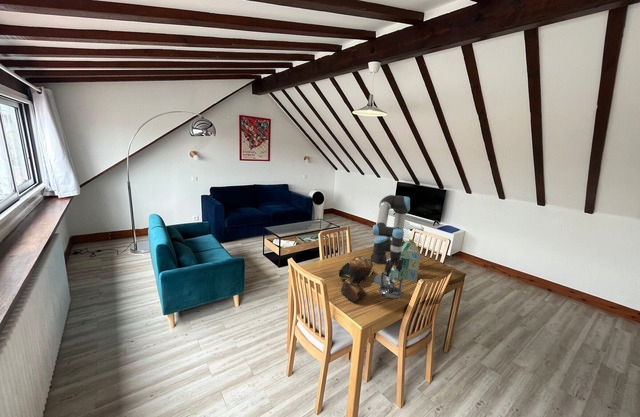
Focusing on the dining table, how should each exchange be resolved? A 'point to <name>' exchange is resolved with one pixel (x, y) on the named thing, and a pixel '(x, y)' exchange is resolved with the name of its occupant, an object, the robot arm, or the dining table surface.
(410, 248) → the printed tall block
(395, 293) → the grey metal piece
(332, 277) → the dining table surface
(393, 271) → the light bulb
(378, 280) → the coaster
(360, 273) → the bust
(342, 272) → the mask
